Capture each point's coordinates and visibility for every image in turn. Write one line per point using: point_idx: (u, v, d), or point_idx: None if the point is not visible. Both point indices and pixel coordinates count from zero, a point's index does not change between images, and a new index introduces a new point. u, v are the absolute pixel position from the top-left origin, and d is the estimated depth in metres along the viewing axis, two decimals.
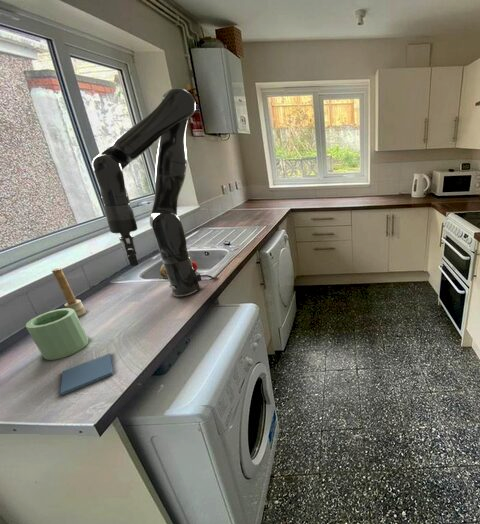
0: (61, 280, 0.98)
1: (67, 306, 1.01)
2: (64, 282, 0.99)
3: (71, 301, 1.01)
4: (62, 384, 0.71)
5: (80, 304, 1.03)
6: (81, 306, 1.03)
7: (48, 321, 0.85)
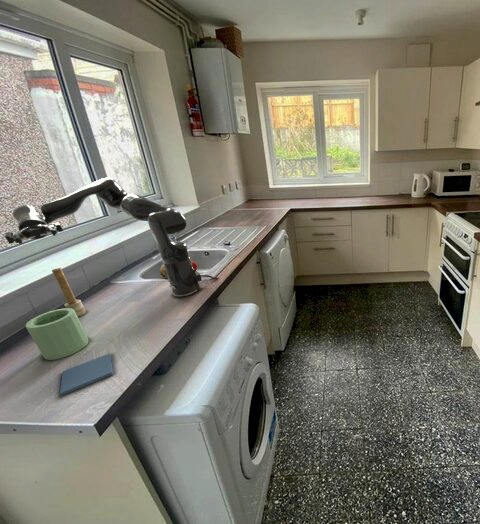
0: (61, 280, 0.98)
1: (67, 306, 1.01)
2: (64, 282, 0.99)
3: (71, 301, 1.01)
4: (62, 384, 0.71)
5: (80, 304, 1.03)
6: (81, 306, 1.03)
7: (48, 321, 0.85)
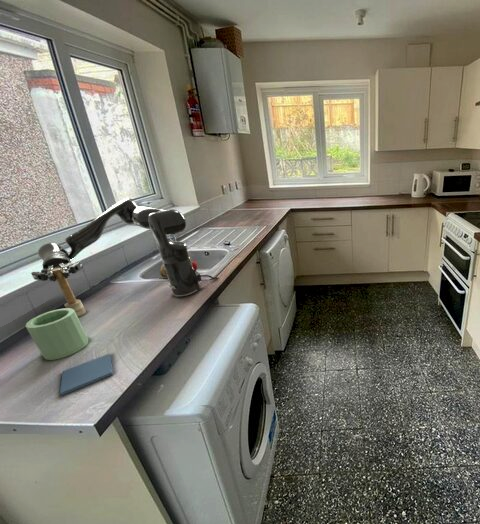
0: (61, 280, 0.98)
1: (67, 306, 1.01)
2: (64, 282, 0.99)
3: (71, 301, 1.02)
4: (62, 384, 0.71)
5: (80, 304, 1.03)
6: (81, 306, 1.03)
7: (48, 321, 0.85)
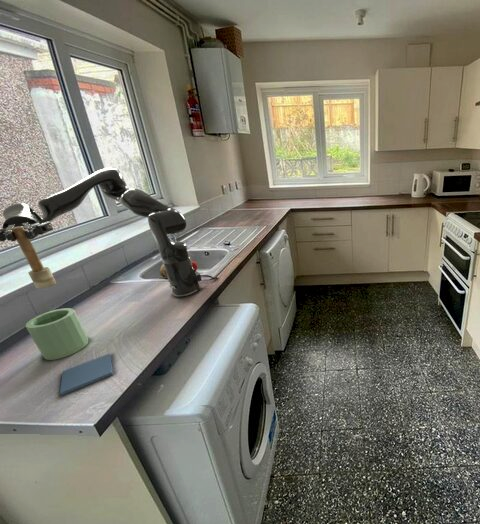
0: (23, 241, 0.80)
1: (31, 274, 0.82)
2: (27, 244, 0.80)
3: (37, 268, 0.83)
4: (62, 384, 0.71)
5: (48, 272, 0.85)
6: (49, 275, 0.85)
7: (48, 321, 0.85)
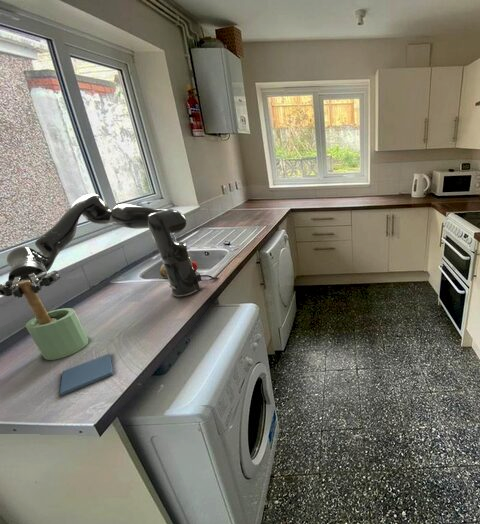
0: (30, 295, 0.77)
1: None
2: (34, 298, 0.78)
3: (44, 321, 0.80)
4: (62, 384, 0.71)
5: None
6: None
7: None
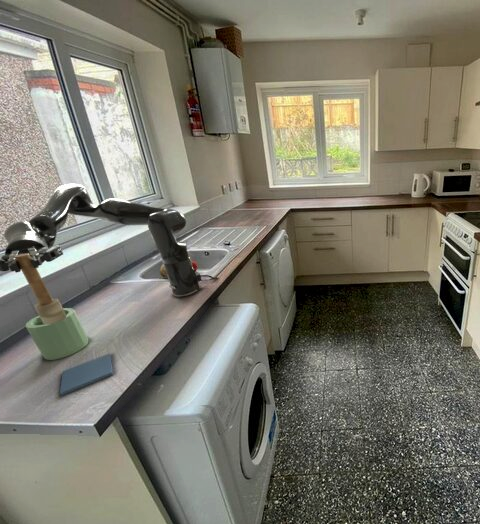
0: (29, 271, 0.68)
1: (38, 308, 0.71)
2: (33, 274, 0.69)
3: (44, 301, 0.71)
4: (62, 384, 0.71)
5: (58, 305, 0.73)
6: (58, 308, 0.73)
7: None
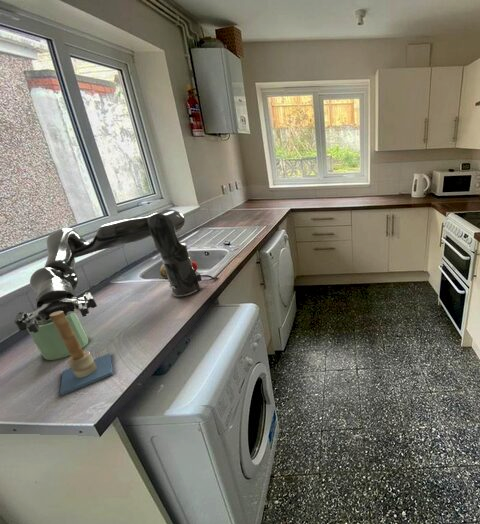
0: (63, 328, 0.69)
1: (71, 363, 0.72)
2: (67, 330, 0.70)
3: (77, 355, 0.72)
4: (62, 384, 0.71)
5: (89, 358, 0.74)
6: (90, 361, 0.74)
7: (48, 321, 0.85)
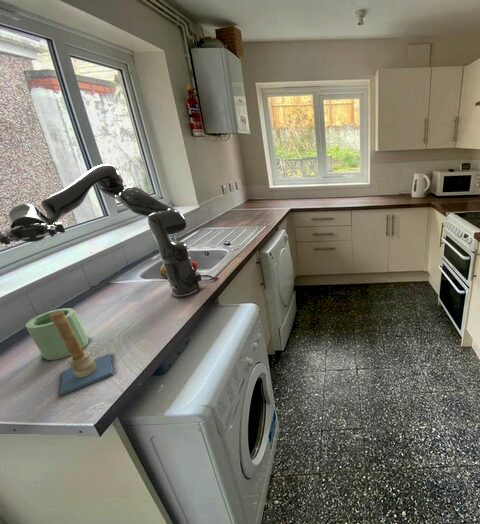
0: (63, 328, 0.69)
1: (71, 363, 0.72)
2: (67, 330, 0.70)
3: (77, 355, 0.72)
4: (62, 384, 0.71)
5: (89, 358, 0.74)
6: (90, 361, 0.74)
7: (48, 321, 0.85)
